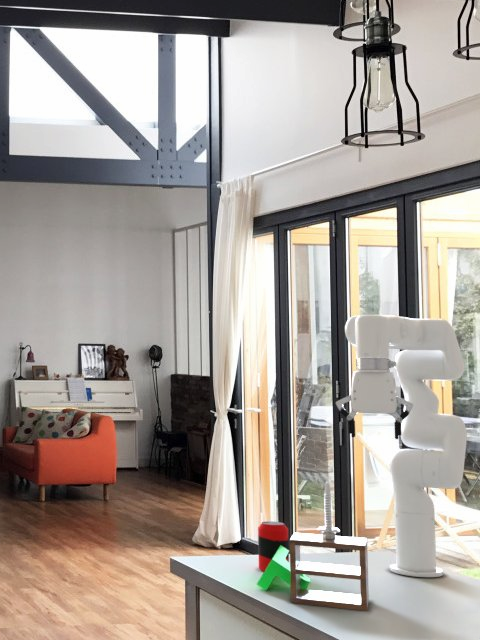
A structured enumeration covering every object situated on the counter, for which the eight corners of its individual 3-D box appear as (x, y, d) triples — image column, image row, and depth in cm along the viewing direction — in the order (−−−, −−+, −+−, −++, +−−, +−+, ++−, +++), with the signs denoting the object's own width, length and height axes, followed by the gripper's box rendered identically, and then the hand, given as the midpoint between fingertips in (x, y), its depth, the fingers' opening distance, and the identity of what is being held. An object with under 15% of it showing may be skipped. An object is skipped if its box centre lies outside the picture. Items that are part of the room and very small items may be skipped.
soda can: (264, 566, 269) (263, 519, 270) (293, 569, 264) (292, 522, 266) (254, 570, 263) (253, 523, 264) (283, 574, 258) (282, 526, 259)
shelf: (295, 593, 237) (294, 532, 239) (368, 601, 231) (367, 538, 232) (290, 602, 228) (289, 539, 230) (366, 610, 222) (365, 545, 223)
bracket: (293, 610, 237) (309, 584, 236) (256, 584, 241) (272, 559, 240) (301, 591, 256) (316, 567, 255) (266, 568, 259) (280, 544, 259)
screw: (332, 536, 234) (344, 540, 229) (313, 537, 233) (325, 541, 228) (331, 479, 235) (342, 482, 231) (312, 479, 234) (323, 482, 230)
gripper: (412, 366, 244) (414, 438, 242) (335, 365, 251) (337, 435, 249) (411, 366, 237) (414, 440, 235) (333, 365, 244) (335, 437, 242)
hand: (374, 437), depth 242 cm, fingers open, 9 cm apart
